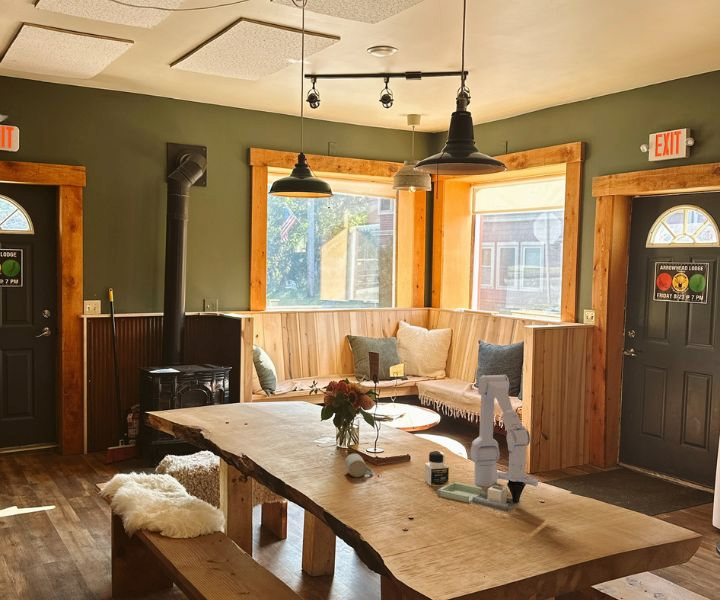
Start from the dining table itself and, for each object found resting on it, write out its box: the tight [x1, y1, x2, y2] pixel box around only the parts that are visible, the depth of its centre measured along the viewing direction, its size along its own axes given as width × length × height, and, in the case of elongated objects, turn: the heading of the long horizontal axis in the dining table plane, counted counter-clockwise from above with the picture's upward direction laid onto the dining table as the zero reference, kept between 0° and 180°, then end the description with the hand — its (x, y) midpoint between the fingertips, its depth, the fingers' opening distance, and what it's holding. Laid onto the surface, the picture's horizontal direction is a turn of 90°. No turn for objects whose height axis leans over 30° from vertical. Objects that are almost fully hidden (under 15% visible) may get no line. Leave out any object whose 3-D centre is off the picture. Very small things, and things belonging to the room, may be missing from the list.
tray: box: [436, 481, 483, 503], centre depth 271 cm, size 12×12×3 cm
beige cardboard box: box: [487, 485, 508, 503], centre depth 263 cm, size 5×5×6 cm
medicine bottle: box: [424, 450, 450, 487], centre depth 286 cm, size 7×7×12 cm
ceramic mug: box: [344, 453, 374, 478], centre depth 295 cm, size 11×8×8 cm
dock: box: [467, 490, 521, 512], centre depth 263 cm, size 12×15×2 cm
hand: (516, 502), depth 259 cm, fingers closed
